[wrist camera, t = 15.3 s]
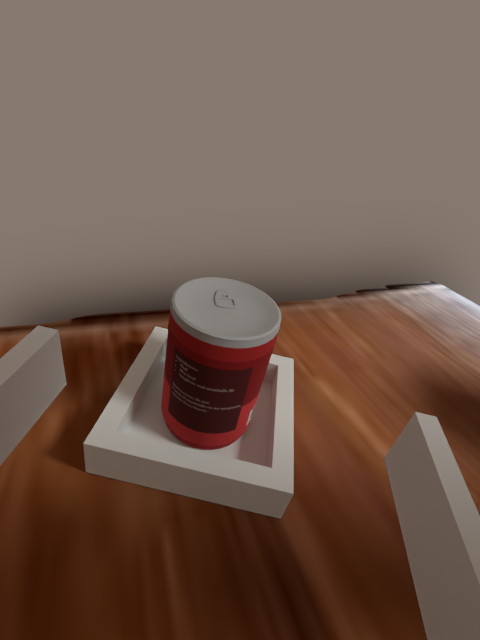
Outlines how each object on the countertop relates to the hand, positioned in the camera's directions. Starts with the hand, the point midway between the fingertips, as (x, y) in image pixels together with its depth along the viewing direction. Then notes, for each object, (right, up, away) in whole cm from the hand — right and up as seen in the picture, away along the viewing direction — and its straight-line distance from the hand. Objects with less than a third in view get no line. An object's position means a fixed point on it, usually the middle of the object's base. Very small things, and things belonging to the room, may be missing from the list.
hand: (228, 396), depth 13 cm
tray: (-3, -6, +17) cm, 18 cm away
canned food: (-3, -5, +17) cm, 18 cm away
